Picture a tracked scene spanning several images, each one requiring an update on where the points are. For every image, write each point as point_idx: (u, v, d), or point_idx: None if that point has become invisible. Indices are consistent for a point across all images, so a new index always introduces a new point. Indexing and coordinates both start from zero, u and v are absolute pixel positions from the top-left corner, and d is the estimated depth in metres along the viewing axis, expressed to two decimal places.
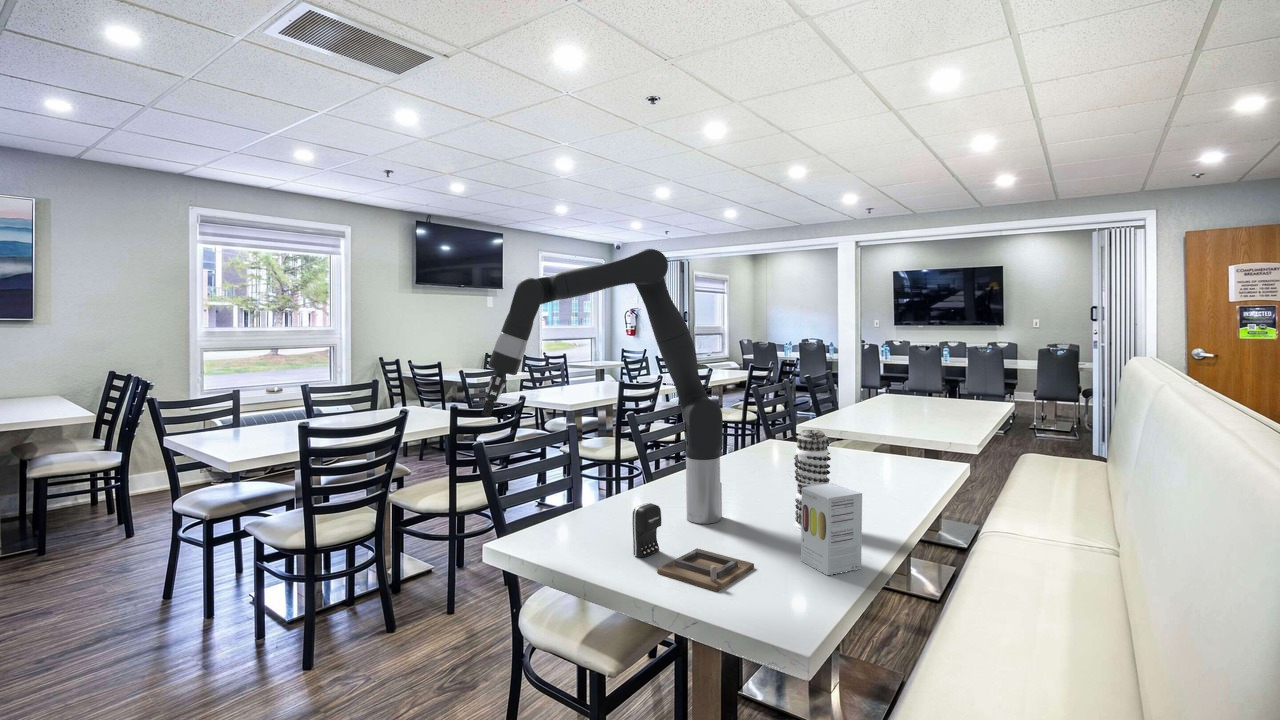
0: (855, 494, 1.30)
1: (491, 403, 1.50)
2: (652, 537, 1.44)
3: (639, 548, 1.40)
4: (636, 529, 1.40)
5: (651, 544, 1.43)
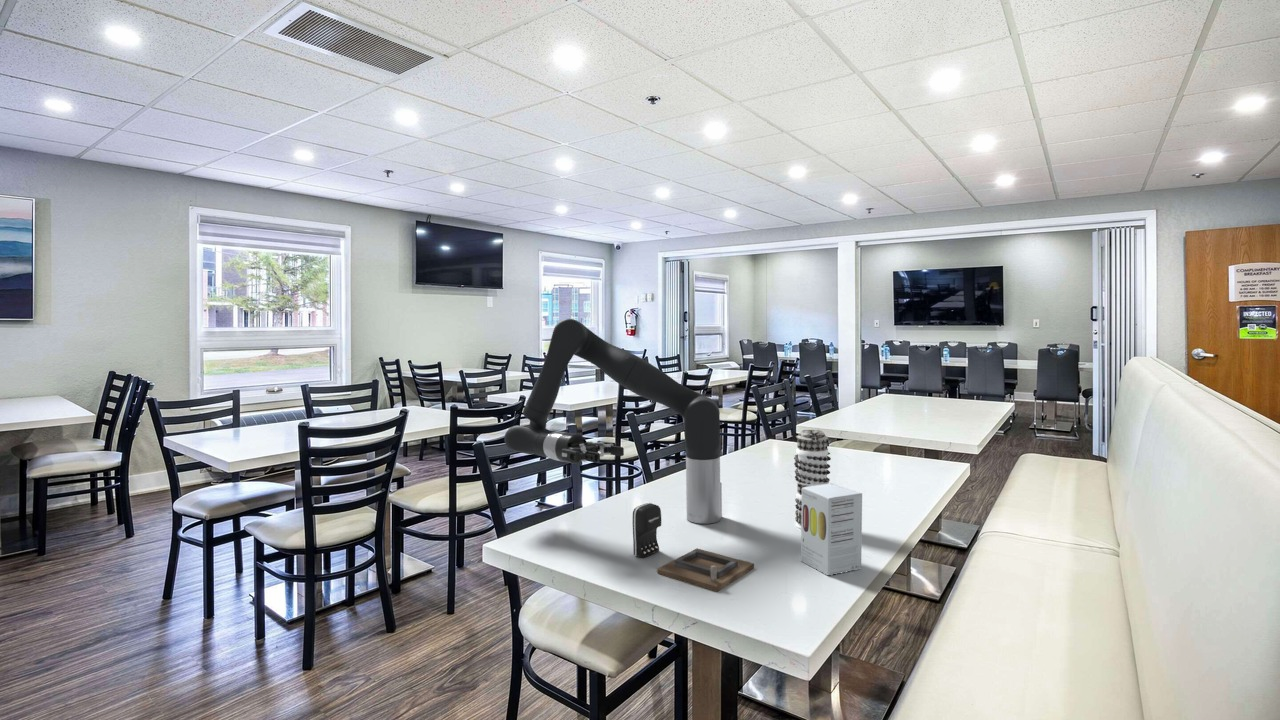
0: (855, 494, 1.30)
1: (585, 455, 1.46)
2: (652, 537, 1.44)
3: (639, 548, 1.40)
4: (636, 529, 1.40)
5: (651, 544, 1.43)
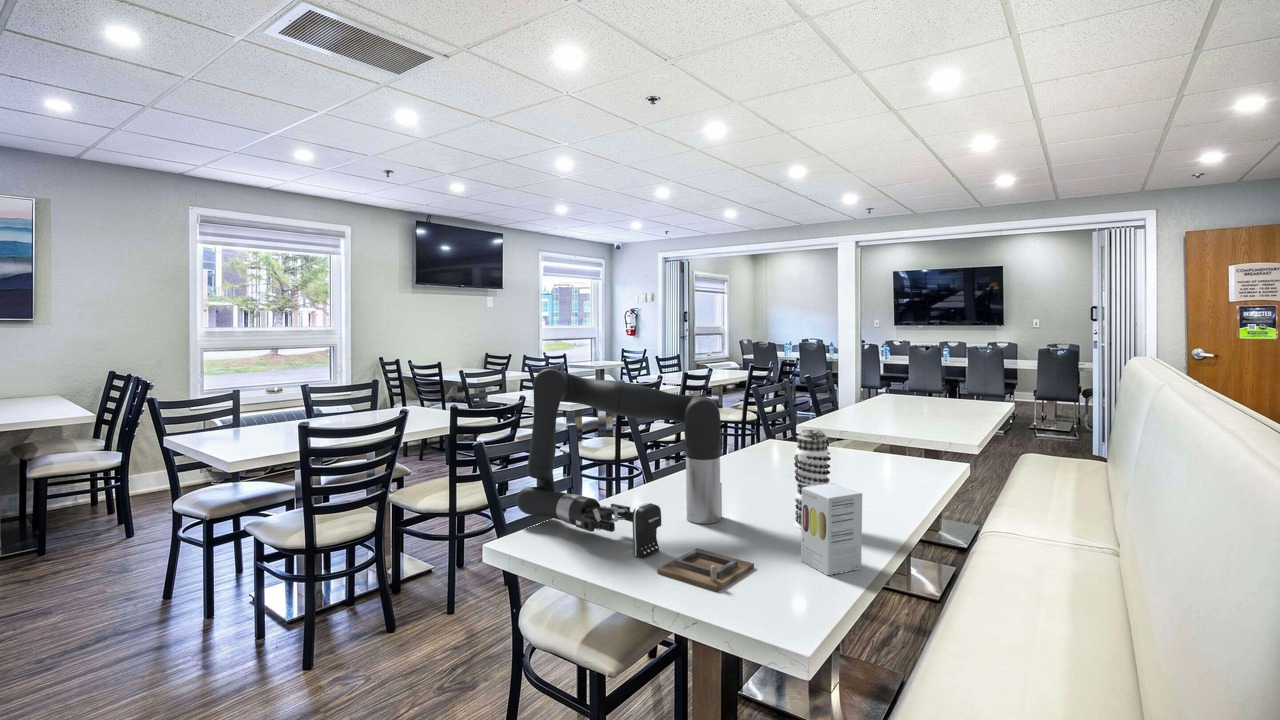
0: (855, 494, 1.30)
1: (599, 524, 1.45)
2: (652, 537, 1.44)
3: (639, 548, 1.40)
4: (636, 529, 1.40)
5: (651, 544, 1.43)
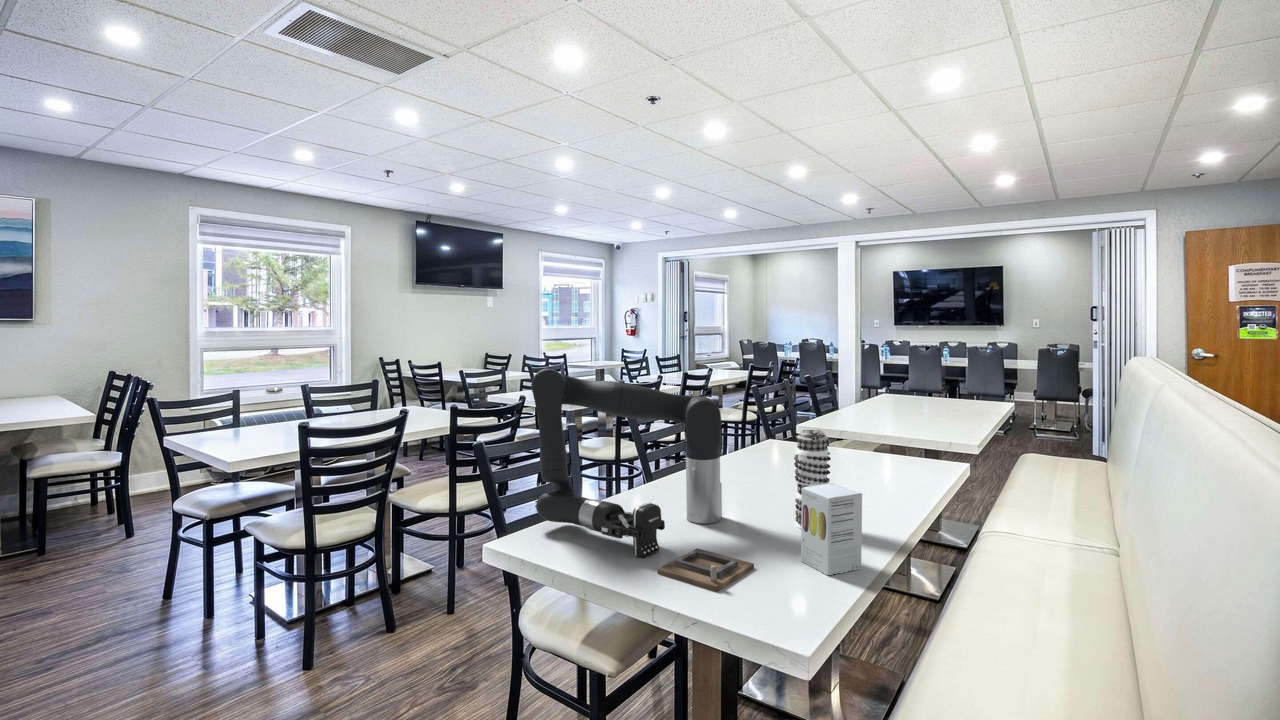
0: (855, 494, 1.30)
1: (628, 530, 1.39)
2: (652, 537, 1.44)
3: (639, 548, 1.40)
4: None
5: (651, 544, 1.43)
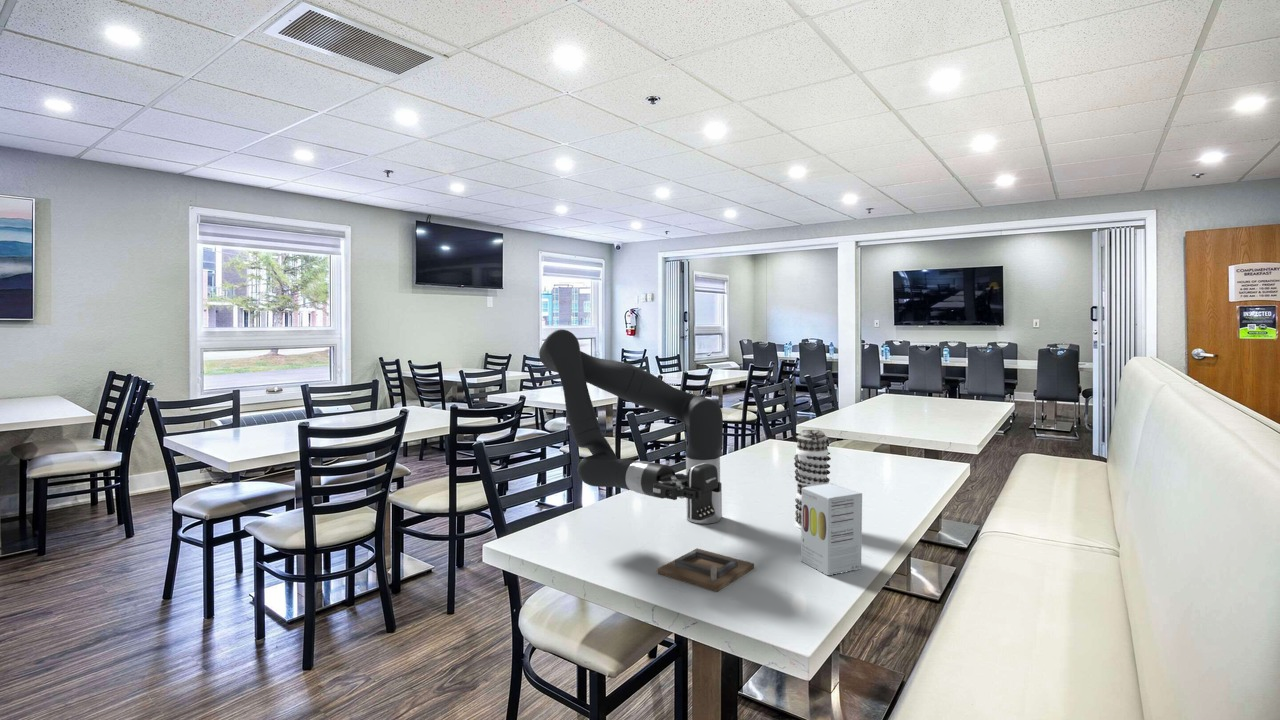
0: (855, 494, 1.30)
1: (683, 491, 1.29)
2: (707, 500, 1.33)
3: (695, 510, 1.29)
4: None
5: (706, 507, 1.32)
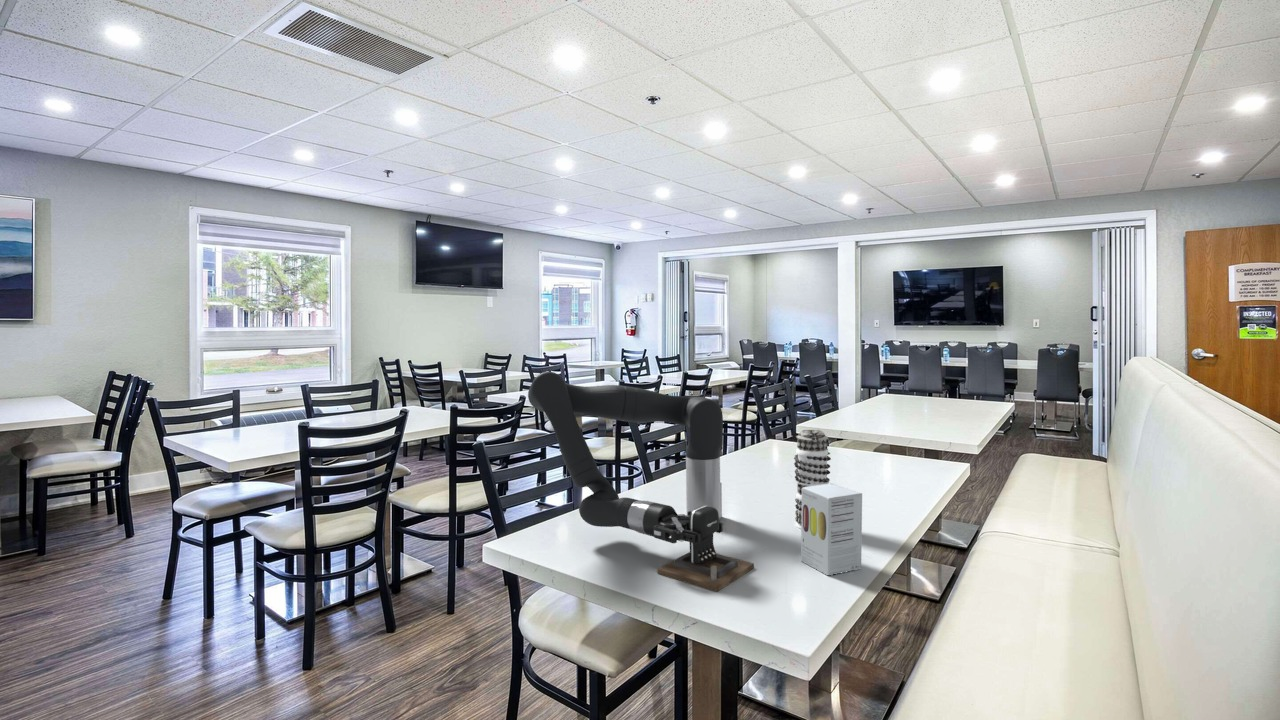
0: (855, 494, 1.30)
1: (682, 535, 1.29)
2: (709, 542, 1.33)
3: (696, 554, 1.30)
4: None
5: (708, 550, 1.33)
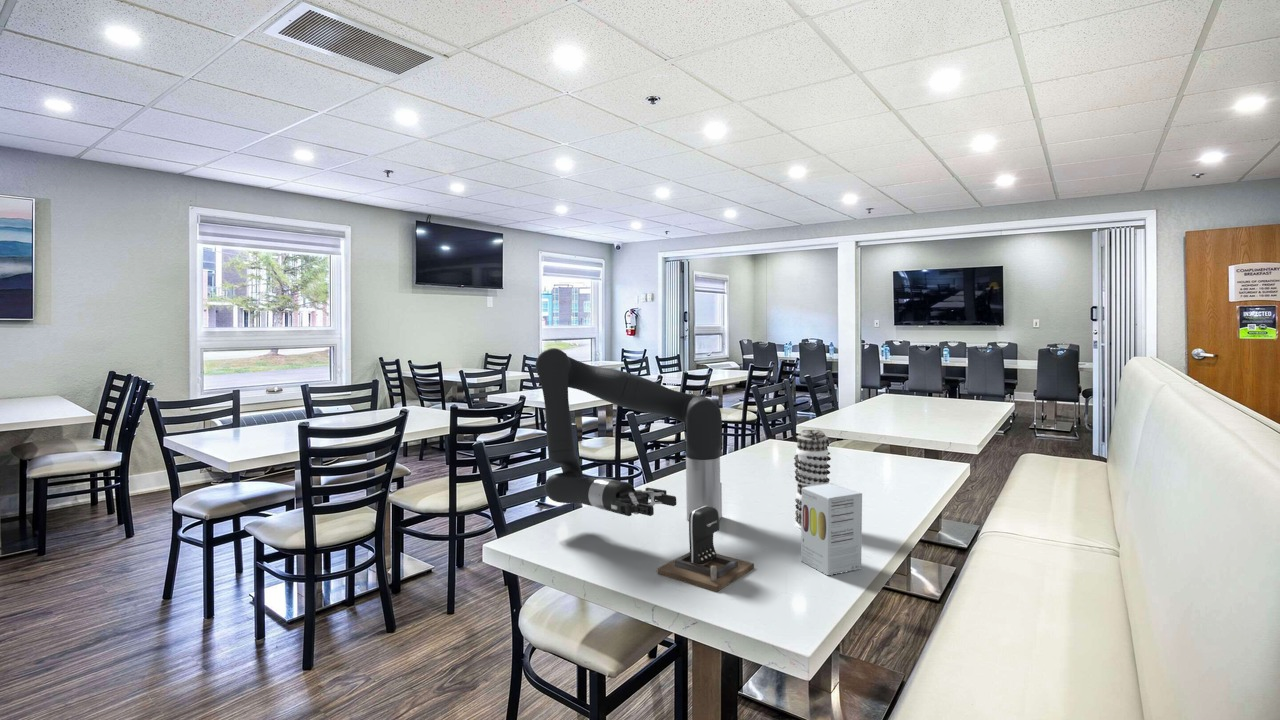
0: (855, 494, 1.30)
1: (637, 508, 1.37)
2: (709, 542, 1.33)
3: (696, 554, 1.30)
4: (693, 534, 1.30)
5: (708, 550, 1.33)
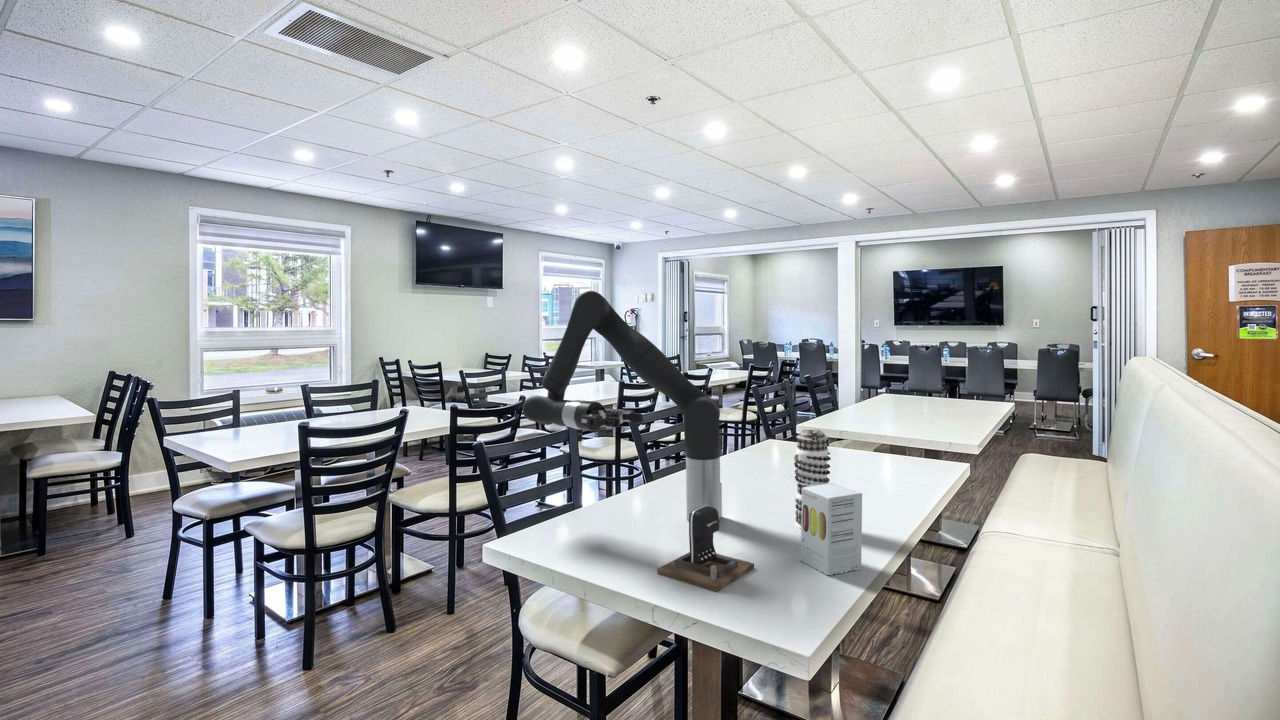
0: (855, 494, 1.30)
1: (605, 420, 1.47)
2: (709, 542, 1.33)
3: (696, 554, 1.30)
4: (693, 534, 1.30)
5: (708, 550, 1.33)
